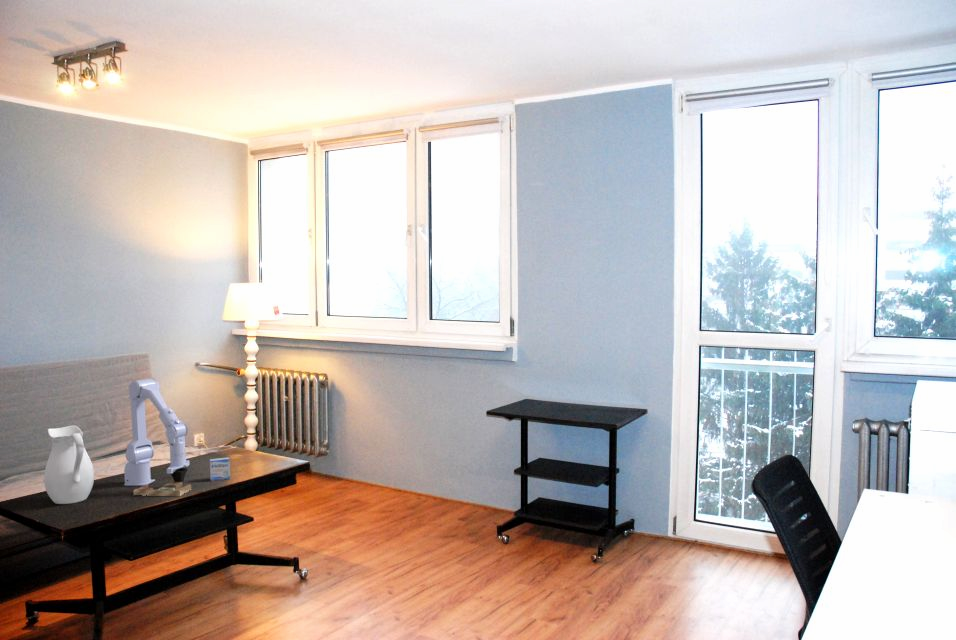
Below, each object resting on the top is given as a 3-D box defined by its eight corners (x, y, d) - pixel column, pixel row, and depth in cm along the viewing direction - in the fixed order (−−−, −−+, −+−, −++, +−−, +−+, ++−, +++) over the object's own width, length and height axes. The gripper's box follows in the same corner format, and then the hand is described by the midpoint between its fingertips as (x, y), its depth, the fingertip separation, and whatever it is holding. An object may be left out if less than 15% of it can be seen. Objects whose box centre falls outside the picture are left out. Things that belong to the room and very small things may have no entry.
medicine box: (210, 481, 314) (209, 460, 313) (210, 479, 318) (209, 458, 317) (230, 479, 316) (229, 458, 316) (229, 476, 321) (228, 456, 320)
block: (164, 494, 296) (163, 485, 296) (171, 490, 301) (171, 481, 301) (176, 494, 295) (175, 485, 295) (183, 490, 300) (182, 482, 300)
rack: (133, 495, 294) (133, 488, 294) (146, 489, 303) (145, 482, 303) (180, 496, 292) (179, 488, 292) (191, 489, 301) (190, 482, 301)
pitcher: (40, 500, 291) (36, 429, 290) (88, 491, 302) (84, 422, 301) (56, 513, 273) (51, 437, 272) (106, 503, 284) (102, 430, 283)
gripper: (178, 457, 293) (179, 492, 294) (195, 449, 308) (197, 482, 308) (161, 457, 294) (162, 492, 295) (179, 449, 309) (181, 482, 309)
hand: (179, 487), depth 302 cm, fingers closed
